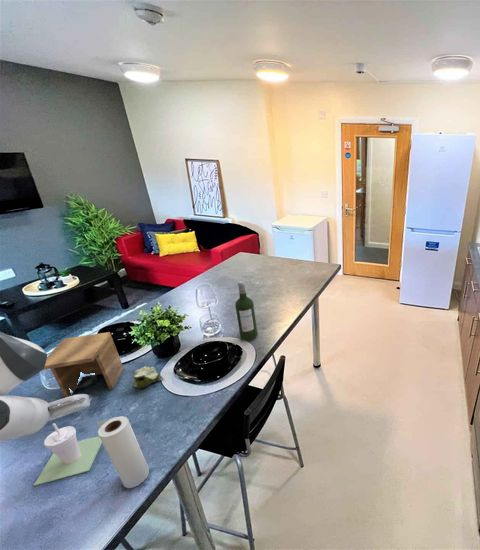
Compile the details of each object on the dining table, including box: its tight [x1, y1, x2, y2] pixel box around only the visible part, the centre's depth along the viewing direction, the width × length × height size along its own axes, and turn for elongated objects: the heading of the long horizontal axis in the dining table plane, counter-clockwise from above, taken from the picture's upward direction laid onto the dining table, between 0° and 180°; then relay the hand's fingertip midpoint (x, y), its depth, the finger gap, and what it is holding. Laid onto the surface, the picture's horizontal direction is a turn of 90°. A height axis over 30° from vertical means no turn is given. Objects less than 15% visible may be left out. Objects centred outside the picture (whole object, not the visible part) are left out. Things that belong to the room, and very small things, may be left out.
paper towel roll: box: [96, 415, 150, 489], centre depth 78 cm, size 7×6×21 cm
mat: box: [33, 435, 103, 487], centre depth 86 cm, size 12×12×1 cm
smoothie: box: [43, 422, 81, 464], centre depth 83 cm, size 6×6×14 cm
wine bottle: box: [234, 280, 258, 341], centre depth 138 cm, size 8×8×30 cm
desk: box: [42, 331, 125, 398], centre depth 107 cm, size 14×16×18 cm
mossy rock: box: [132, 366, 164, 389], centre depth 113 cm, size 9×9×8 cm
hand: (46, 417), depth 79 cm, fingers open, 8 cm apart
